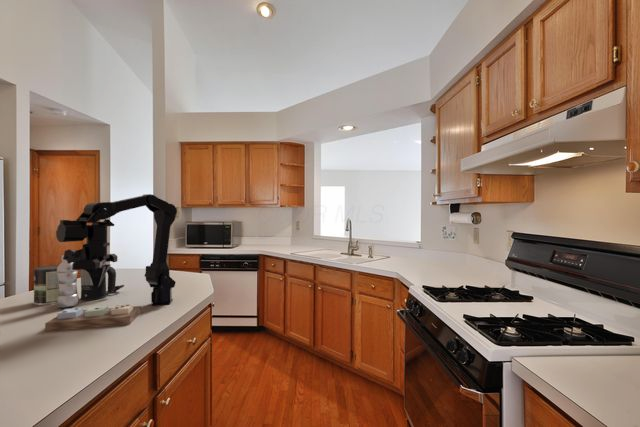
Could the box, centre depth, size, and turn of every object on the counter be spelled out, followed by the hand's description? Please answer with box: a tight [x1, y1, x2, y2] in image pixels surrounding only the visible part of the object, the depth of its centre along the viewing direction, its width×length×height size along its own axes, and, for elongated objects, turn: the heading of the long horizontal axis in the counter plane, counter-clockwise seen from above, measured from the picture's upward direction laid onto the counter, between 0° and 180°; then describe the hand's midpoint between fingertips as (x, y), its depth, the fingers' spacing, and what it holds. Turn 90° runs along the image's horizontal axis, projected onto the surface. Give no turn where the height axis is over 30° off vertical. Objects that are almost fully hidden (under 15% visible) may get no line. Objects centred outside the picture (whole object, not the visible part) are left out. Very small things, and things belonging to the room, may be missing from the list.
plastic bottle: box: [56, 254, 80, 309], centre depth 121 cm, size 6×7×20 cm
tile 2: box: [56, 307, 84, 319], centre depth 103 cm, size 5×5×2 cm
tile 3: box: [111, 303, 134, 315], centre depth 106 cm, size 5×5×2 cm
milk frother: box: [79, 262, 125, 301], centre depth 138 cm, size 14×16×15 cm
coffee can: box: [32, 264, 60, 306], centre depth 129 cm, size 10×10×14 cm
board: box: [44, 305, 142, 332], centre depth 105 cm, size 23×12×2 cm, turn 105°
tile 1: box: [85, 305, 110, 317], centre depth 105 cm, size 5×5×2 cm
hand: (96, 287), depth 105 cm, fingers closed
